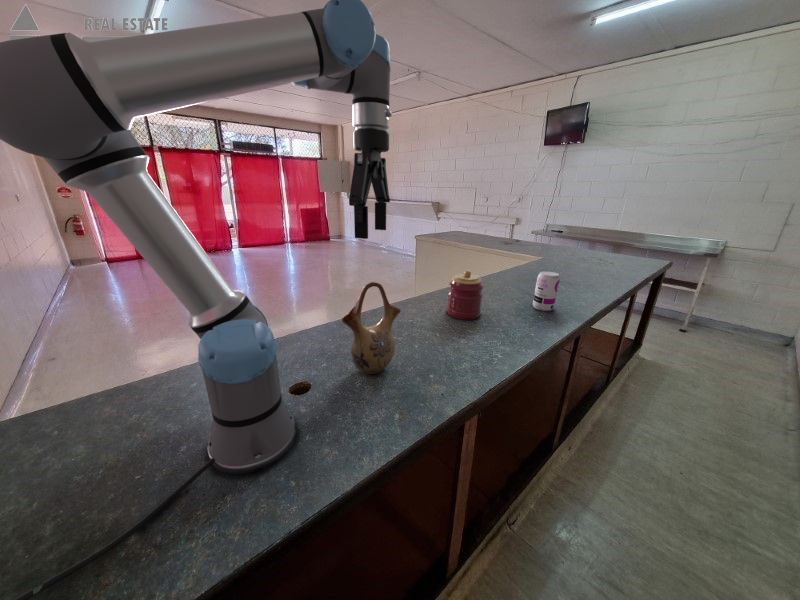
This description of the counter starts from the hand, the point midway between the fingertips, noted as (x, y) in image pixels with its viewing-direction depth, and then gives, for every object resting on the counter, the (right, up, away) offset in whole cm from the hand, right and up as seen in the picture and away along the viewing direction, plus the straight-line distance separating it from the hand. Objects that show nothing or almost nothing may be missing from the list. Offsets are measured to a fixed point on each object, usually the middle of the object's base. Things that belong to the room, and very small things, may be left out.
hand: (371, 233), depth 73 cm
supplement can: (+67, -19, +60) cm, 92 cm away
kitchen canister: (+31, -21, +52) cm, 64 cm away
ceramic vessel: (-1, -35, +13) cm, 37 cm away
